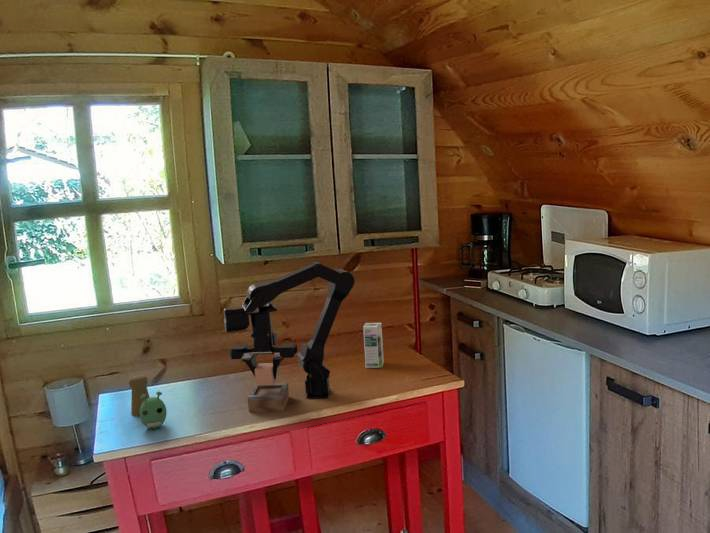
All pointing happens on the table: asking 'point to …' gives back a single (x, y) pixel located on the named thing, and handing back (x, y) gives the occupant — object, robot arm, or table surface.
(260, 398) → the grey square frame
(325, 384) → the robot arm
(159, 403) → the alien toy
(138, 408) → the cork
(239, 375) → the table surface
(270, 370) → the top brick
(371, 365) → the syrup box
